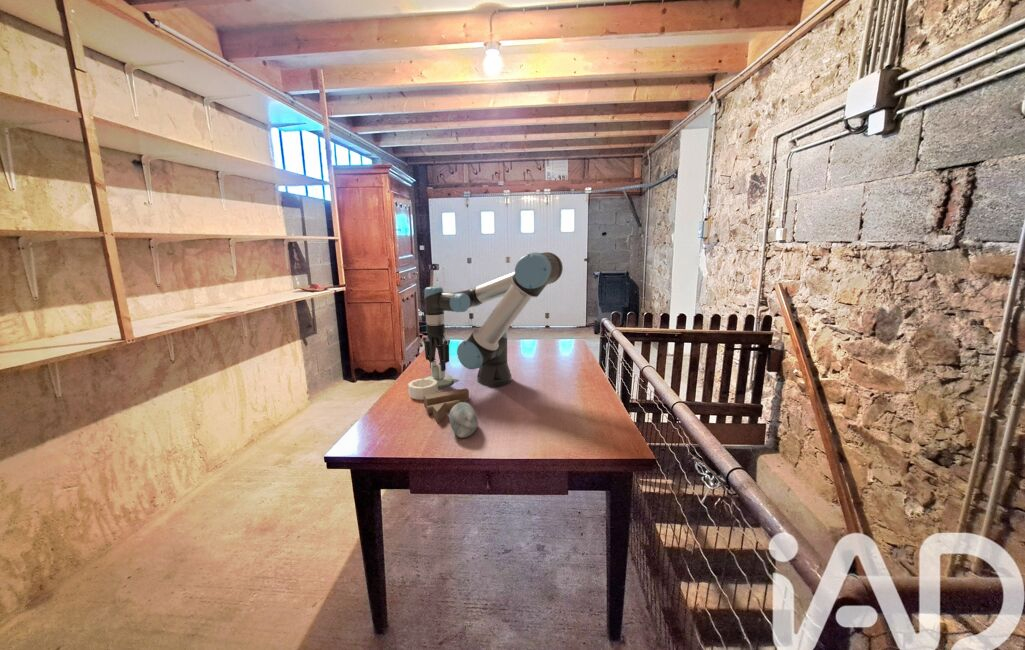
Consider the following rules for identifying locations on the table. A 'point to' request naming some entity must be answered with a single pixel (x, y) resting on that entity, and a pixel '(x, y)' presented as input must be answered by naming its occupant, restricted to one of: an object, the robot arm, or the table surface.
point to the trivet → (449, 384)
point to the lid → (443, 381)
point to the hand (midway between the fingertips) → (438, 376)
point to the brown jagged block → (444, 402)
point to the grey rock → (463, 419)
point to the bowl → (422, 388)
